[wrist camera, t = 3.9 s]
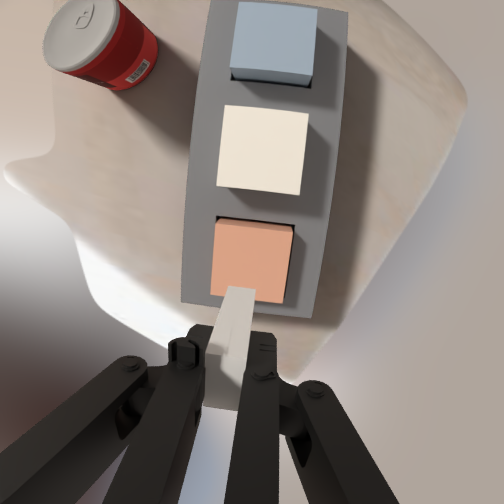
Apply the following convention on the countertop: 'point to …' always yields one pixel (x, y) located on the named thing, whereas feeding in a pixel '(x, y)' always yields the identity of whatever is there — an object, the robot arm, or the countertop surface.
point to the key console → (255, 201)
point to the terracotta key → (251, 257)
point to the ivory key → (262, 149)
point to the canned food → (100, 43)
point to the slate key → (274, 44)
